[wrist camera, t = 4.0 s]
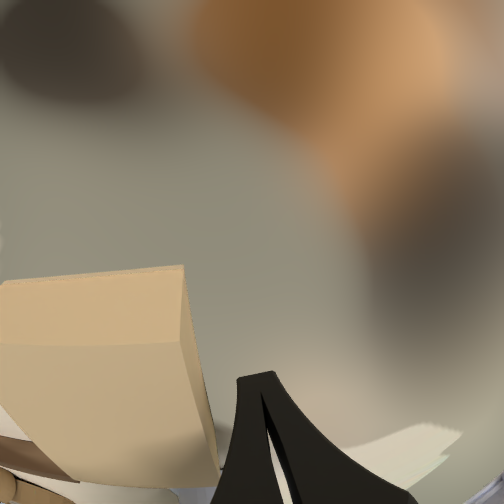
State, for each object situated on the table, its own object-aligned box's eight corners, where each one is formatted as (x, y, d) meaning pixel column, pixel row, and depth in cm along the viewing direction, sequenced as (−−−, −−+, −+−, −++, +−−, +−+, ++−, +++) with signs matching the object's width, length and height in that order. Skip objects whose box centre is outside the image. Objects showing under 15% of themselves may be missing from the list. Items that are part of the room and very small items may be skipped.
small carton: (214, 424, 14) (222, 485, 11) (83, 424, 13) (73, 479, 10) (183, 264, 10) (180, 341, 7) (4, 280, 9) (-43, 339, 5)
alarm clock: (65, 527, 20) (-32, 494, 11) (63, 499, 24) (-30, 464, 15) (96, 527, 18) (-28, 489, 9) (92, 492, 22) (-25, 450, 13)
